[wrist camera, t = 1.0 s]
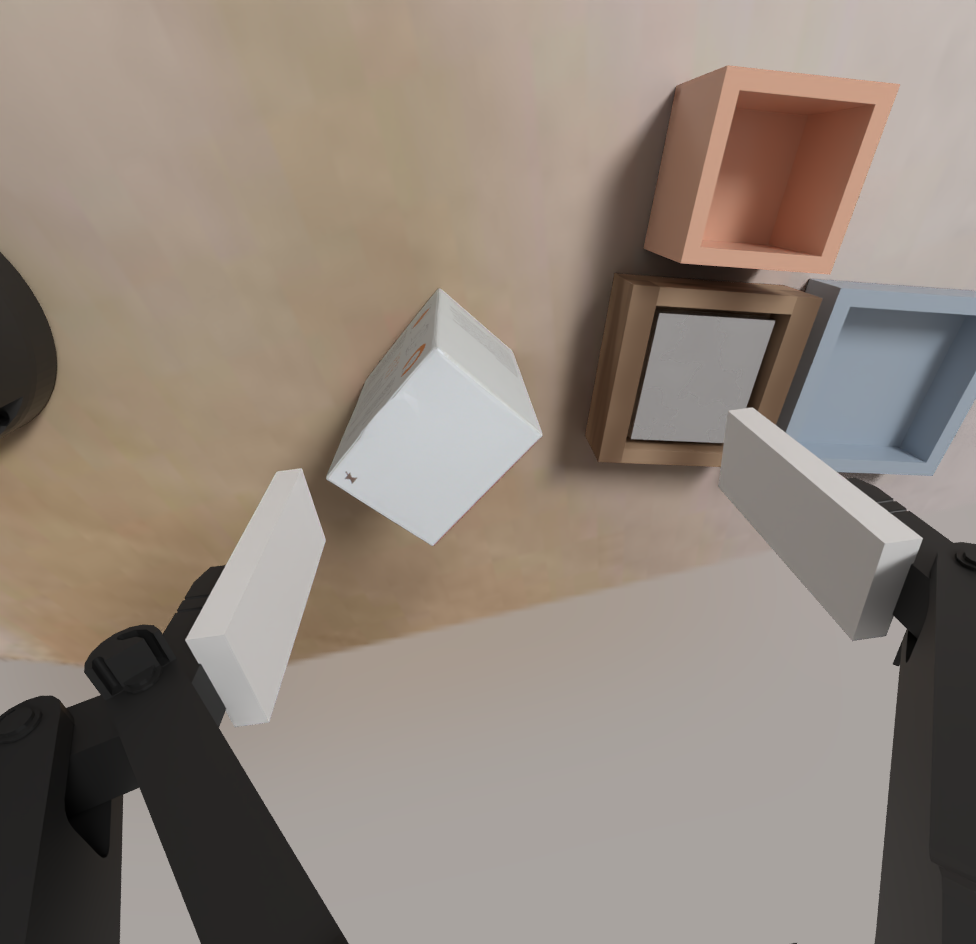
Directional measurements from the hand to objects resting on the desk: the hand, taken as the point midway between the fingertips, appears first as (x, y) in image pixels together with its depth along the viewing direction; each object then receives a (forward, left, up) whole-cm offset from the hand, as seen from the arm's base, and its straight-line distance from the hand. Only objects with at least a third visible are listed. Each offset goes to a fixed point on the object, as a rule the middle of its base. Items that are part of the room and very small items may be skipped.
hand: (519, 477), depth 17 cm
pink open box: (+13, +9, -20) cm, 25 cm away
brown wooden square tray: (+13, -2, -20) cm, 24 cm away
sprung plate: (+13, -2, -17) cm, 22 cm away
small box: (-3, -3, -20) cm, 20 cm away
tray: (+26, -2, -20) cm, 33 cm away
